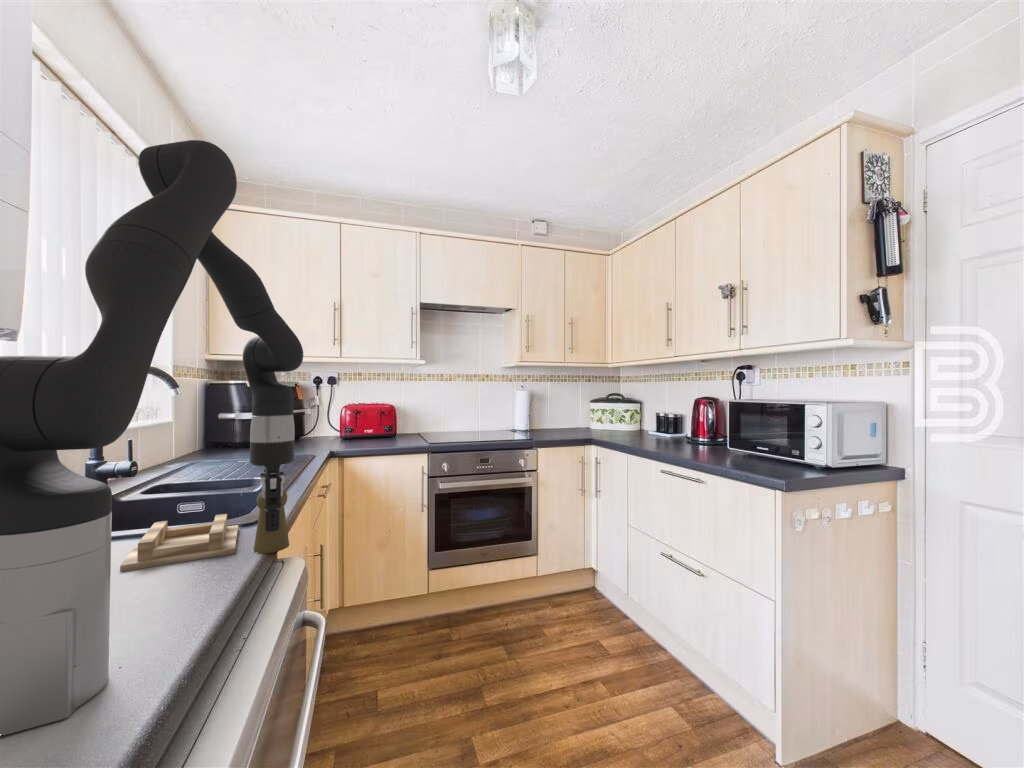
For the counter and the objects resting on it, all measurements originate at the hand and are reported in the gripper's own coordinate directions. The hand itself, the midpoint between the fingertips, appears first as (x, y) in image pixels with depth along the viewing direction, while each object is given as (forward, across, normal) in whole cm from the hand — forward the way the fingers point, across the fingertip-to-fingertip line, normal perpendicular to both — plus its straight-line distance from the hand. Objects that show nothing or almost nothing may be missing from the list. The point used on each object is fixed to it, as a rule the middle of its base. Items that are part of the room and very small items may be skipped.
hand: (271, 525), depth 83 cm
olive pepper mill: (+4, 0, 0) cm, 4 cm away
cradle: (+4, +8, +14) cm, 17 cm away
